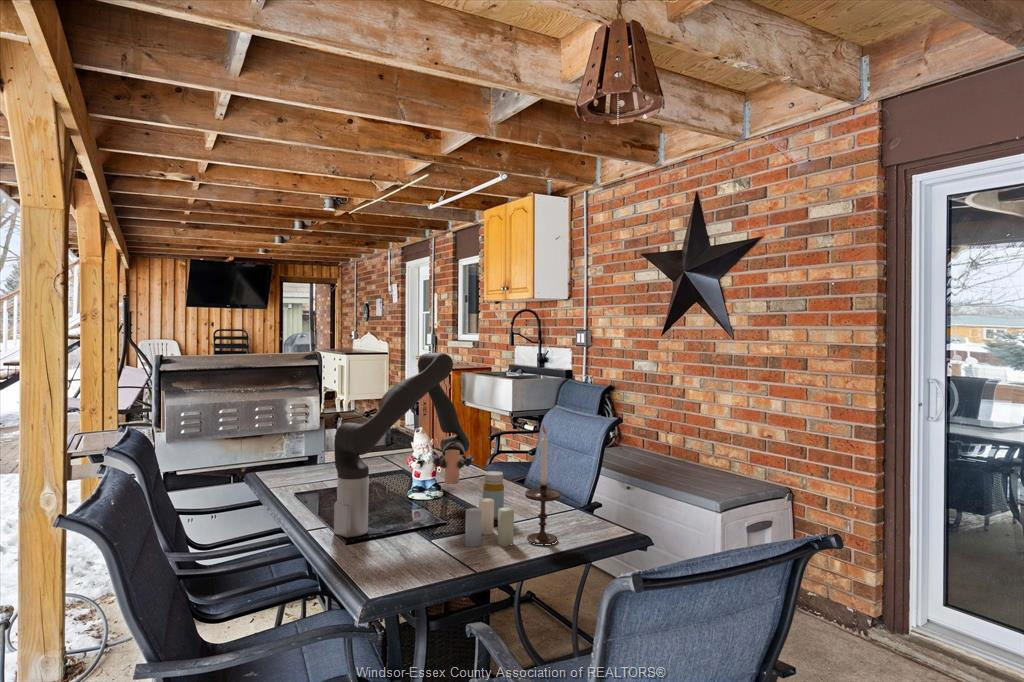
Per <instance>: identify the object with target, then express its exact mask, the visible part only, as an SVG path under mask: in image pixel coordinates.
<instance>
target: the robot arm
mask: <svg viewBox="0 0 1024 682" xmlns="http://www.w3.org/2000/svg"><path fill="white" fill-rule="evenodd" d="M453 368H454V361H453V358H452V357H451V356H450V355H449V354H447V353H443V352H426V353H423V354H422V355H421V356H420V357H419V358H418V362H417V369H418V372H419V373H417V374H415V375H413V376H410V377H408V378H405V379H403V380H402V381H398V383H396V384H394V385H393V387H391V388H390V389H389V390H387V392H385V393H384V394H383V396H382V397H381V399H380V402H379V406H378V410H377V412H376V413H375V414H374V415H373V416H372V417H371V418H369V419H368V420H367V421H366V422H363V423H356V422H355V423H354V422H344V423H341V424H340V425H339V426H338V428H337V430H336V431H335V435H334V447H333V448H334V466H335V469H336V472H337V483H336V484H337V486H336V487H337V492H336V493H337V494H336V495H337V496H336V497H337V498H336V501H334V503H333V504H334V506H333V512H334V513H333V516H334V517H333V534H335V535H337V536H340V537H343V538H350V537H359V536H363V535H365V534H367V533H368V531H369V487H370V486H369V483H370V482H369V479H370V476H369V474H370V473H369V472H370V471H369V465H367V463H365V462H364V461H363V460H362V459H361V456H363V455H367V454H368V453H369V452H370V451H372V449H374V448H375V446H376V445H377V444H378V443H379V442H380V440H381V439H382V438H383V436H385V434H386V433H387V432H388V431H389V430H390V429H391V428H392V427H393V426H394V425H395V424H396V423H397V422H398V421H399V420H400V419H401V418H403V417H404V416H405V415H406V414H407V413H408V412H409V411H410V410H411V409H413V407H414V406H415V405H417V403H418V402H419V401H420V400H421V399H422V398H424V397H425V396H426V395H427V393H428V394H429V395H428V396H429V397H430V400H431V402H432V405H433V407H434V409H435V412H436V413H435V414H436V416H437V420H438V423H439V427H440V431H442V432H443V433H445V434H454V435H449V436H445V437H443V438H442V439H441V440H440V444H439V445H440V450H441V453H442V454H441V455H440V456H439V455H438V454H432V455H431V456H432V459H431V460H432V461H431V462H432V464H433V465H434V466H435V467H439V466H440V468H442V469H443V470H445V451H446V450H459V451H460V460H459V470H460V469H461V470H462V468H464V466H465V467H470V466H471V465H472V464H474V455H473V454H469V455H467V456H466V454H465V453H466V452H468V451H469V450H470V446H471V445H470V444H471V443H470V440H469V438H468V436H467V435H466V433H465V431H464V430H463V429H462V425H461V424H460V420H459V418H458V412H457V410H456V408H455V407H456V406H455V404H454V403H453V400H451V399H450V397H449V396H448V395H447V393H446V392H445V390H444V389H443V388H442V385H441V382H442V383H443V382H444V381H445V380H446V379H447V378H448V377H449V376H450V374H451V373H452V371H453Z"/></svg>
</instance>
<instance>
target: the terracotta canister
mask: <svg viewBox="0 0 1024 682" xmlns="http://www.w3.org/2000/svg"><path fill="white" fill-rule="evenodd" d="M459 460H460V451H459V450H446V451H445V469H444V484H447V485H457V484H459V483H460V469H459Z"/></svg>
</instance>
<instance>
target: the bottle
mask: <svg viewBox="0 0 1024 682" xmlns="http://www.w3.org/2000/svg"><path fill="white" fill-rule="evenodd" d="M503 482H504V473H503V472H502V471H500V470H499V471H498V470H488V471H485V472H484V484H483V487H482V499H483V498H490V499H493V500H494V520H495V521H498V520H497V519H498V509H500V508H505V507H504V505H505V503H504V501H505V500H504V499H505V486H504V483H503Z"/></svg>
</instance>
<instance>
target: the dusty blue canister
mask: <svg viewBox="0 0 1024 682" xmlns="http://www.w3.org/2000/svg"><path fill="white" fill-rule="evenodd" d="M481 513H482V510H481V509H479V507H469V508H466V509H465V527H464V528H465V531H464V533H465V535H464V537H465V539H464V545H465V546H466V547H468V546H469V548H477V547H476V546H478V547H480V546H481V545H482V534H481Z"/></svg>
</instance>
